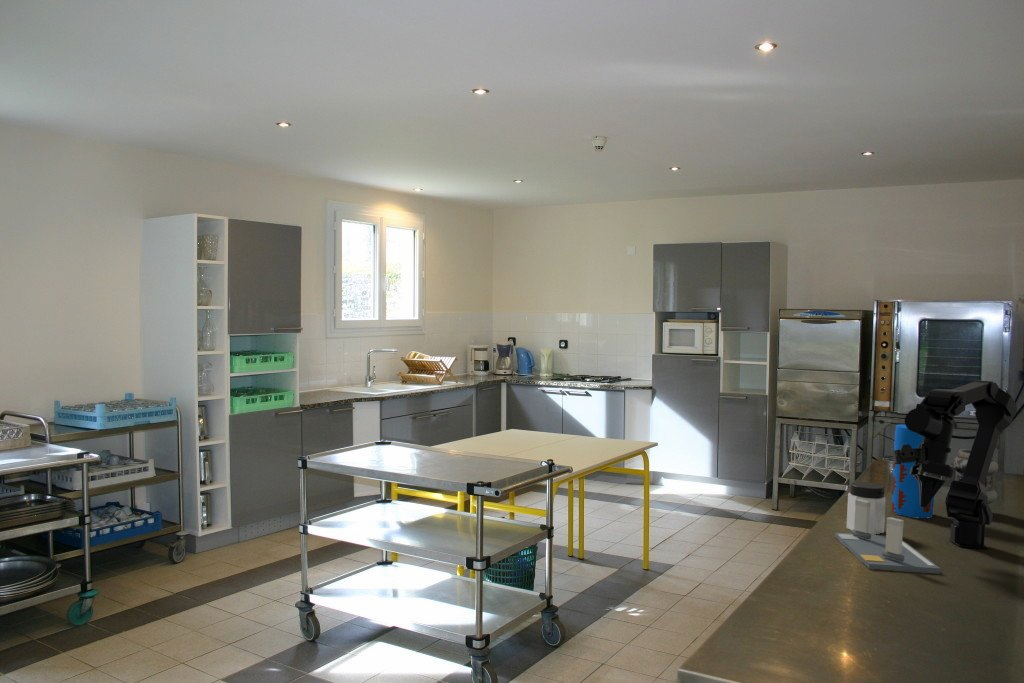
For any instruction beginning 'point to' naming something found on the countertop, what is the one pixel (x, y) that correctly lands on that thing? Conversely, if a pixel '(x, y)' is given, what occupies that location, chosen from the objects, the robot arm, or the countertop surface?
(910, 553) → the switch panel
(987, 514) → the robot arm
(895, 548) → the lever
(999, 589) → the countertop surface
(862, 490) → the jar
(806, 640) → the countertop surface
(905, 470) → the thermos
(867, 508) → the lever
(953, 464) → the apothecary jar
